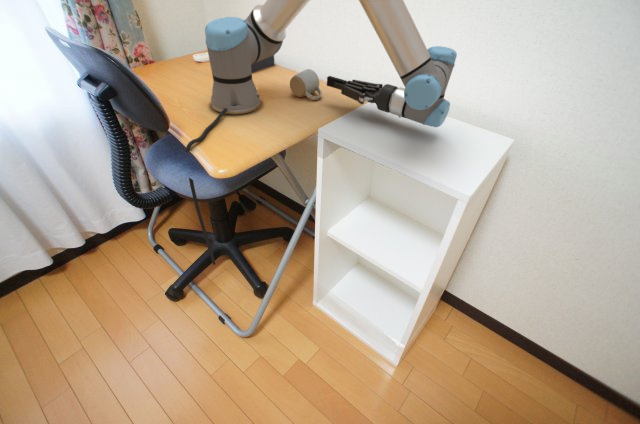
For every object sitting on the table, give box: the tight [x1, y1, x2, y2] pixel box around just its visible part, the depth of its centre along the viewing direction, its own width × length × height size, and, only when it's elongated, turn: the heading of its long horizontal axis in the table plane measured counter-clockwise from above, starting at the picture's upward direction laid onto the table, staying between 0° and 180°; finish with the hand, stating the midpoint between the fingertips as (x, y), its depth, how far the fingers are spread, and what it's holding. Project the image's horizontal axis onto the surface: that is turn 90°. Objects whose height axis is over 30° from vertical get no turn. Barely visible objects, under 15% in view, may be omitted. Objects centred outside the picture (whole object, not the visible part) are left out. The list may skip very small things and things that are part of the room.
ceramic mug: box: [289, 68, 322, 101], centre depth 105 cm, size 11×8×8 cm
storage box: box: [251, 55, 275, 74], centre depth 126 cm, size 13×13×11 cm
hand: (328, 80), depth 100 cm, fingers closed
